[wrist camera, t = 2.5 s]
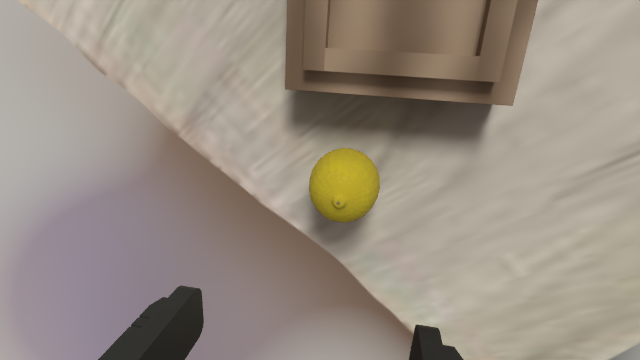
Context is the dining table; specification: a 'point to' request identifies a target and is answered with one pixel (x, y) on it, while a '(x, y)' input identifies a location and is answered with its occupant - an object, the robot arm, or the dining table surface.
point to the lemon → (344, 185)
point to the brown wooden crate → (409, 48)
